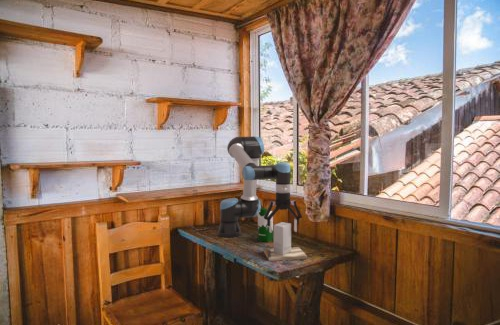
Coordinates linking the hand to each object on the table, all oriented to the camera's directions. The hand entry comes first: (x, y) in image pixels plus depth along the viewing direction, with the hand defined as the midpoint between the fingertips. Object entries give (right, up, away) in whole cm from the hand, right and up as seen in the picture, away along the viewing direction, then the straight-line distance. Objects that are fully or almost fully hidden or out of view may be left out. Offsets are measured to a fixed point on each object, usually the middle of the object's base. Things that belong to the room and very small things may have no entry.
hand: (282, 231), depth 192 cm
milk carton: (-8, -12, +31) cm, 34 cm away
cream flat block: (+1, -13, +2) cm, 13 cm away
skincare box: (0, -12, 0) cm, 12 cm away
